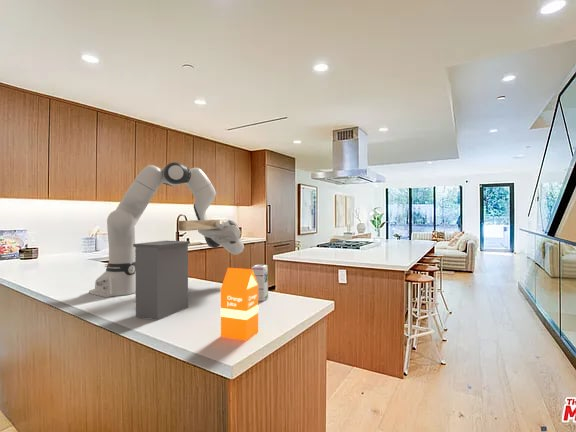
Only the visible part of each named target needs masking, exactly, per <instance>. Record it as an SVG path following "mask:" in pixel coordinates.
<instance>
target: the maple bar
mask: <svg viewBox="0 0 576 432" xmlns="http://www.w3.org/2000/svg"><path fill="white" fill-rule="evenodd" d="M220 221H221V219H207V220H198V219H195V220H194V219H193V220H192V219H191V220H178V221H177V224H178V225H177V226H178V227H177V228H178V229H177V231H179V232H182V231H183V232H188V231H198V230H203V229H216V228H218V227H215V226H214V222H218V223H219V224H221V222H220Z"/></svg>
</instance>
